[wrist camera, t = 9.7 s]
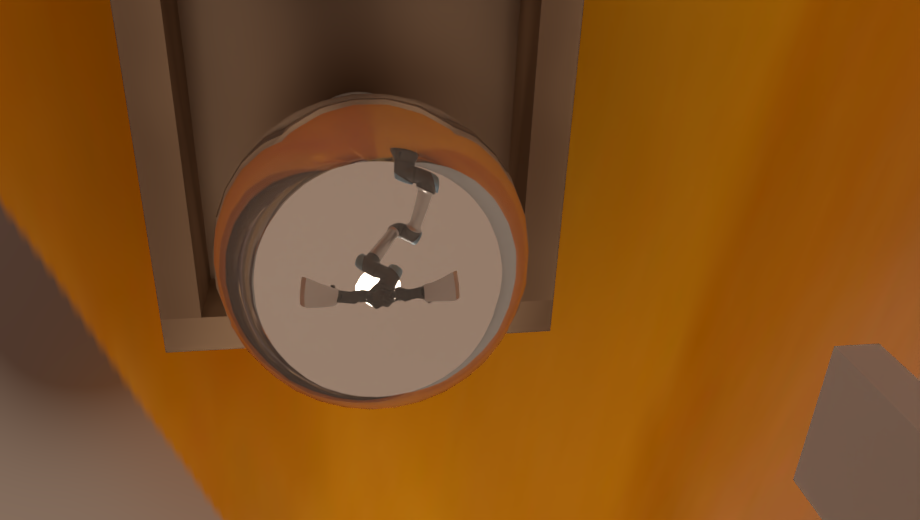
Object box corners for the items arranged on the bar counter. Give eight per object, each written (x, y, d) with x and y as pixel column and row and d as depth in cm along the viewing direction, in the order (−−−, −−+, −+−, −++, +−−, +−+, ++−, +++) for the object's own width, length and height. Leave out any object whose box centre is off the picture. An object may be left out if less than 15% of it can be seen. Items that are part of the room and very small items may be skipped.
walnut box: (539, -82, 26) (590, -65, 21) (514, 256, 32) (549, 330, 27) (141, -92, 24) (98, -76, 19) (190, 270, 30) (166, 352, 25)
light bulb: (471, 217, 27) (570, 451, 17) (266, 244, 27) (234, 507, 16) (457, 8, 24) (567, 136, 14) (221, 32, 23) (145, 188, 13)
